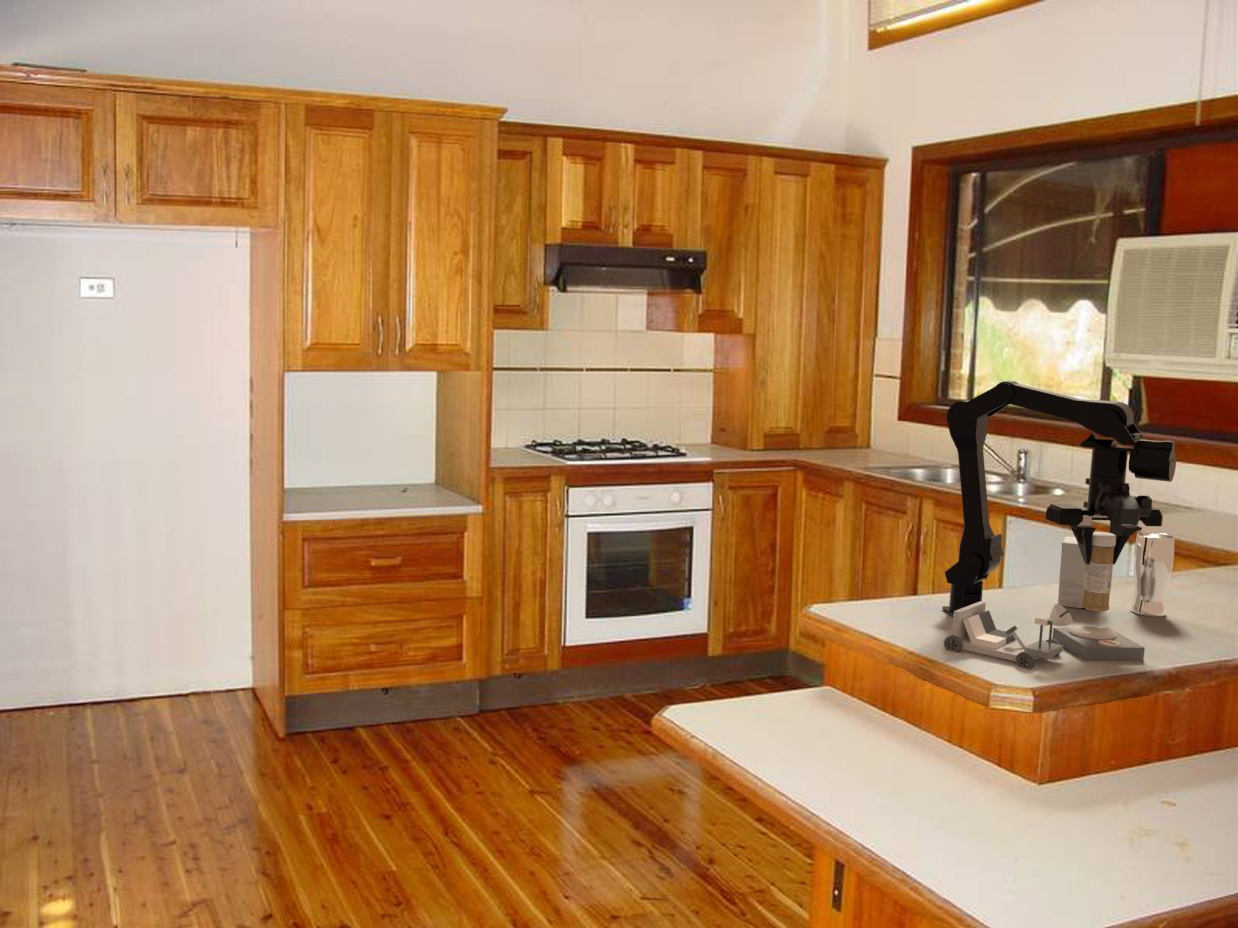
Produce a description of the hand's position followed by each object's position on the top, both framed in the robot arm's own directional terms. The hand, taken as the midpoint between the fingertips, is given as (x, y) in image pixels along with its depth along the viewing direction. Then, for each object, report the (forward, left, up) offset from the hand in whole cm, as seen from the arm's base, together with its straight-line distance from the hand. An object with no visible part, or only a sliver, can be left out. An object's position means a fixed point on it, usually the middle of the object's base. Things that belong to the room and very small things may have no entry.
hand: (1099, 563), depth 217 cm
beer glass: (-17, +20, -13) cm, 29 cm away
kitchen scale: (+8, -3, -13) cm, 16 cm away
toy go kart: (+11, -20, -14) cm, 26 cm away
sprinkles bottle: (0, 0, -8) cm, 8 cm away
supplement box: (-23, +9, -13) cm, 28 cm away
